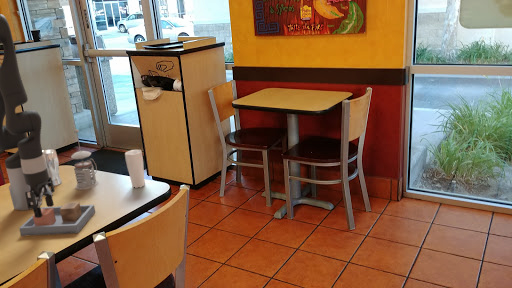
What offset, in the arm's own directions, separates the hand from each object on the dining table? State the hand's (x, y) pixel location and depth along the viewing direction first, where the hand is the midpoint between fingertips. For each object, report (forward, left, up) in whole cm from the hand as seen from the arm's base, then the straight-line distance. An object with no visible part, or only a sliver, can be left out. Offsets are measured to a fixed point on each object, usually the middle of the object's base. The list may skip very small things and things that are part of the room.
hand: (44, 211), depth 161 cm
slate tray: (+4, +1, -5) cm, 7 cm away
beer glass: (-16, +40, -6) cm, 44 cm away
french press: (+1, +36, -6) cm, 36 cm away
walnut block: (+8, +3, -5) cm, 10 cm away
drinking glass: (+24, +32, -6) cm, 40 cm away
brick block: (0, -1, -5) cm, 5 cm away
